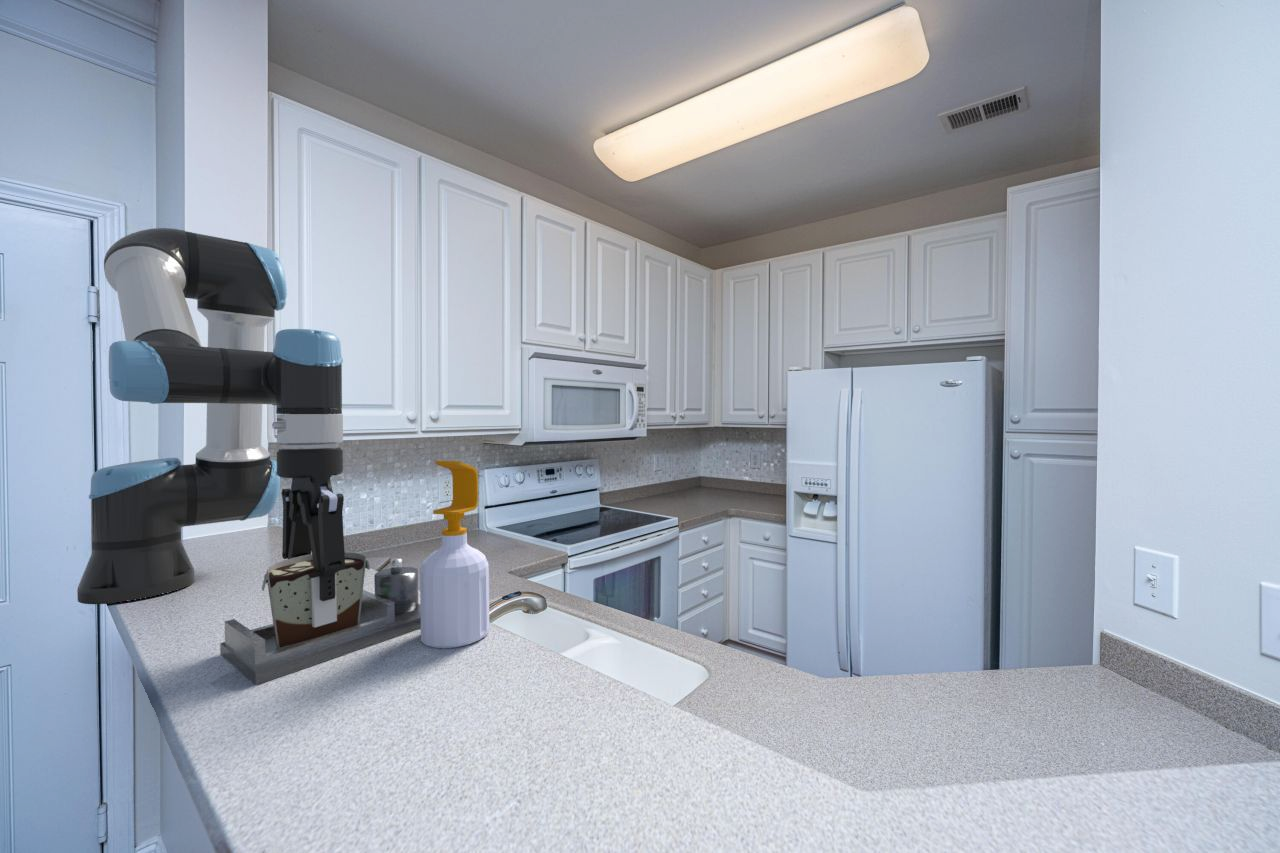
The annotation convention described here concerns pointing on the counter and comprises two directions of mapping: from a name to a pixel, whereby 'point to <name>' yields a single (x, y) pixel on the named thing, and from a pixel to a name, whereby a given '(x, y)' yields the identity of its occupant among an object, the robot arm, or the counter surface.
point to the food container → (295, 598)
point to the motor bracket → (379, 621)
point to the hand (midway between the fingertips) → (313, 617)
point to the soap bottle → (455, 573)
